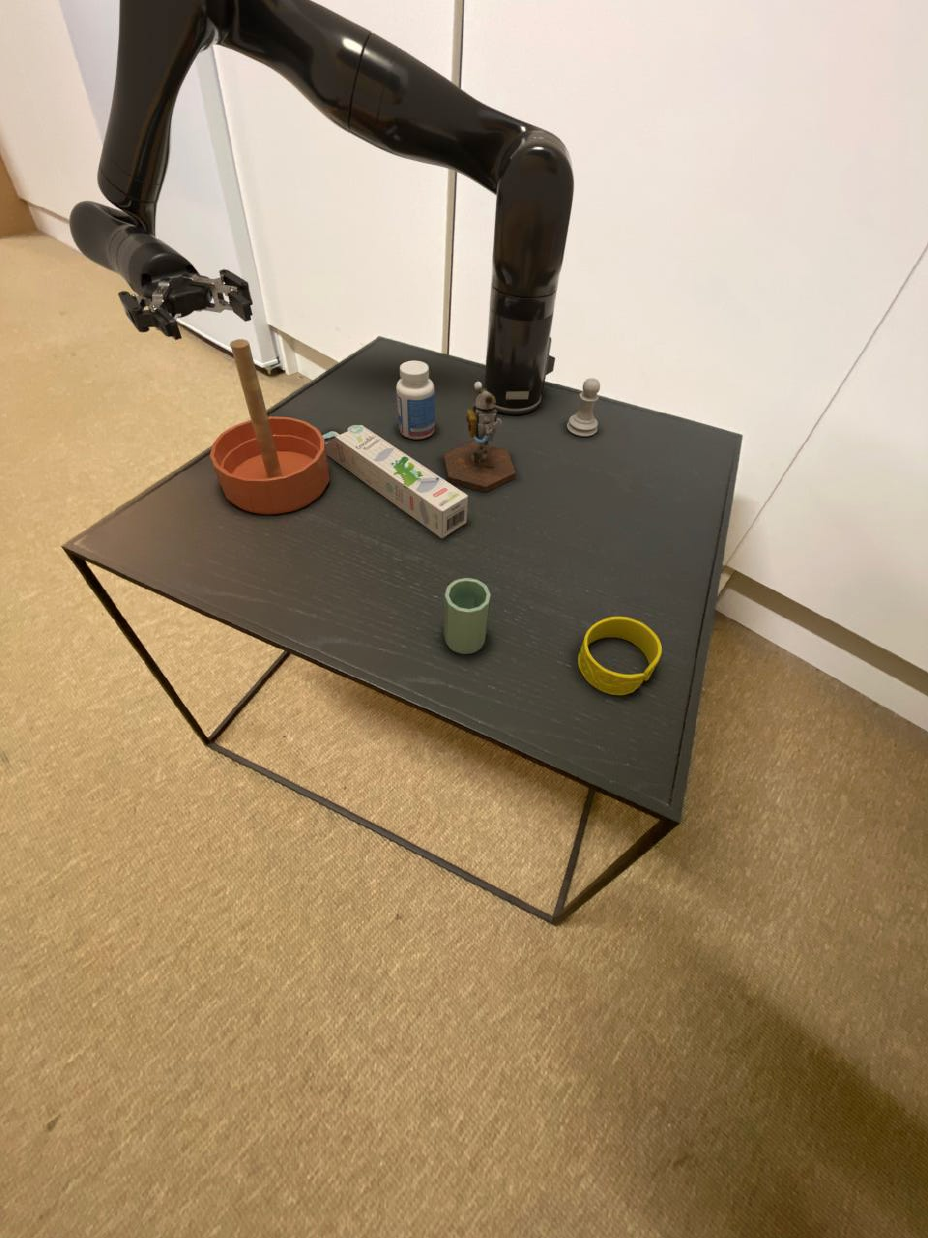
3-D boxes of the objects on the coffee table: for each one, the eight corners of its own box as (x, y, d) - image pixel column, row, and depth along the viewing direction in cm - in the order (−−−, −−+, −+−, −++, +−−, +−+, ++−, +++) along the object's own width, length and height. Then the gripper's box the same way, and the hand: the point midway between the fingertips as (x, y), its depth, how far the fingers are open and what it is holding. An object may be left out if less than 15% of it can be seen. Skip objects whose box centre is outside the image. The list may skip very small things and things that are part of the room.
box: (442, 538, 71) (309, 442, 82) (466, 522, 73) (333, 430, 84) (442, 511, 67) (303, 414, 79) (468, 495, 69) (329, 403, 81)
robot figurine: (519, 491, 77) (530, 411, 68) (451, 496, 76) (453, 414, 67) (503, 444, 84) (511, 365, 75) (441, 448, 83) (441, 368, 73)
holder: (462, 615, 63) (465, 571, 57) (493, 636, 61) (499, 593, 56) (436, 638, 61) (436, 595, 55) (467, 661, 59) (470, 618, 54)
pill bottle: (441, 428, 86) (442, 365, 79) (421, 444, 83) (419, 381, 76) (412, 416, 88) (410, 354, 80) (391, 432, 85) (387, 369, 77)
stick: (282, 472, 77) (247, 337, 63) (284, 481, 76) (249, 345, 62) (266, 474, 76) (229, 339, 62) (268, 483, 75) (230, 348, 61)
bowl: (286, 439, 83) (277, 404, 78) (352, 480, 77) (347, 445, 73) (201, 482, 76) (187, 447, 71) (267, 531, 70) (256, 496, 66)
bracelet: (563, 661, 59) (568, 642, 57) (611, 623, 63) (618, 604, 60) (617, 708, 56) (625, 690, 54) (665, 665, 60) (675, 646, 57)
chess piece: (602, 434, 87) (615, 384, 80) (575, 439, 85) (586, 389, 79) (587, 418, 89) (598, 368, 83) (561, 423, 88) (570, 373, 82)
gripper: (87, 253, 67) (137, 301, 60) (203, 231, 73) (261, 272, 66) (115, 318, 73) (163, 370, 66) (220, 293, 79) (275, 338, 72)
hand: (212, 321), depth 66 cm, fingers open, 8 cm apart
